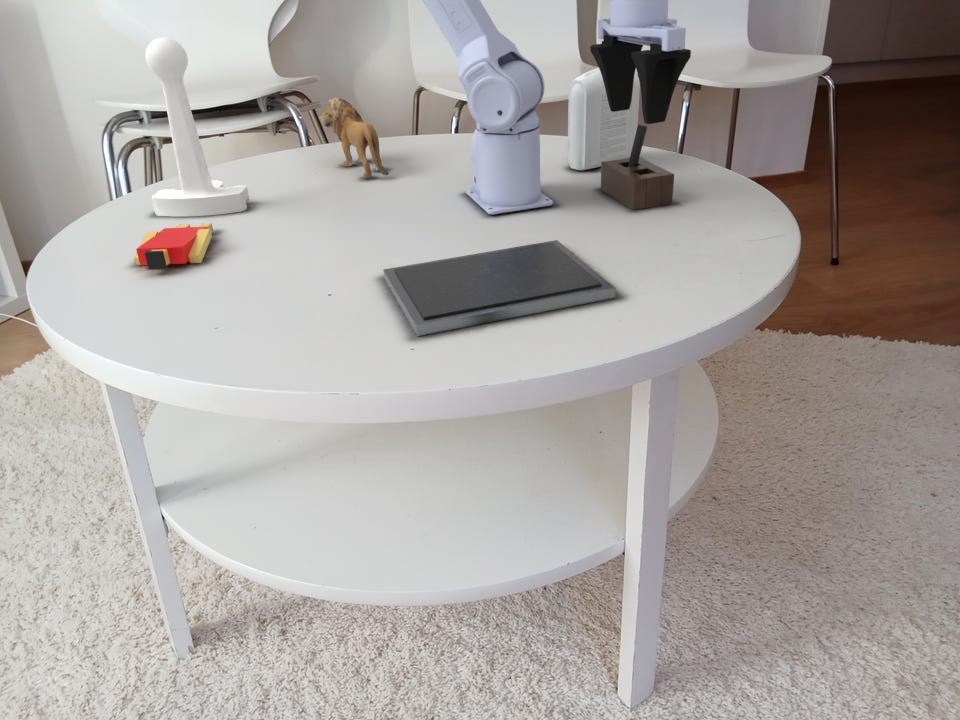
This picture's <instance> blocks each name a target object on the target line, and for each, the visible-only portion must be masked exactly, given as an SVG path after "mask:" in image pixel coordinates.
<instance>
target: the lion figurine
mask: <svg viewBox="0 0 960 720" xmlns="http://www.w3.org/2000/svg"><path fill="white" fill-rule="evenodd" d="M318 119H319V121H320V122H321V123H322V124H323V127H324V128H325V129H329V128H332V132H333V133H334V135H336V136H337V138H338V140H339V141H340V142H341V148H342V151H343V153H344V157H345V161H343V162H342V166H343V167H352V166H353V164H354V160H353V156H352V153H351V146H353V147H354V148H355V149H356V153H357V160H358V162H359V163H361V164H362V166H363V168H364V171H365V173H363V176H362V177H363V179H366V180H368V179H372V177H373V173H372V168H371V165H370V162H369V160H368V159H367V154H366V152H367V151H366V150H367V148H368V149H369V153H370V156H371V158H372V161H373V163H374V165H375V170H376V172H377V171H378V172H380V173H381V174H382V176H390V172H389V171H388V170H386V169H385V167H384V165H383V162H382V158H381V153H380V140H379V136H378V133H377V131H376V129H375V127H374V126H373V124H372V123H369V122H364V121H363V119H362V116H361V115H360V113H359V112H358V110H357V108H355V107H354V106H353V104H351V103H350V102H349V101H347V100H345V99H343V98H341V97H333V98H331V99H328V106H327V107H326V108H325V110H324V112H323V113H322V114H320V115H319V116H318Z"/></svg>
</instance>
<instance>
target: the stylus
mask: <svg viewBox="0 0 960 720" xmlns="http://www.w3.org/2000/svg"><path fill="white" fill-rule="evenodd" d="M647 129H648V126H647V125H645V124H639V123H638V126H637V130H636V134H635V138H634V142H633V147H632V151H631V155H630V159H629V163H628V167H632V166H637V165H638V161H639V157H640V156H641V153H642V148H643V145H644V141H645V137H646V133H647ZM640 158H641V157H640Z"/></svg>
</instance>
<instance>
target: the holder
mask: <svg viewBox="0 0 960 720" xmlns="http://www.w3.org/2000/svg"><path fill="white" fill-rule="evenodd" d="M629 159H630V158H628V159H627V158H626V159H619V160H613V161H605V162H601V166H600V192H601V191H602V192H603V193H605V194H606V195H608V196H610V197H611V198H612V199H615V200H616V201H619V202H620V204H623V205H624V206H626V207H628V208H629V209H630V210H633V211H636V210H641V209H648V208H654V207H661V206H667V205H672V204H673V197H674V186H675V185H674V183H675V173H673V172H671V171H669V170H666V169H665V168H662V167H661V166H658V165H656V164H655V163H652V162H650V161H647V159H644V158H642V157H639V161H638V165H637V166H632V167H628V163H629Z"/></svg>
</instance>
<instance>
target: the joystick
mask: <svg viewBox="0 0 960 720" xmlns="http://www.w3.org/2000/svg"><path fill="white" fill-rule="evenodd" d="M144 56H145V62H146V65H147V67H148V68H149V71H151V72H152V74H154V75H155V76H156V77H157V78H158V80H159V82H160V85H161V87H162V92H163V98H164V102H165V108H166V113H167V118H168V125H169V129H170V136H171V140H172V145H173V146H172V147H173V151H174V156H175V157H174V158H175V162H176V168H177V173H178V178H179V183H180V189H171V188H162V189H159V190H158V191H156V193H154V194H153V195H152V196H151V197H150V198H151V202H152V205H153V210H154V212H155V215H156V216H158V217H184V218H185V217H204V216H205V217H207V216H217V215H226V214H232V213H240V212H244V211H246V210H247V209H248V207H247V206H248V205H247V202H250V200H251V198H250V195H249V190H248V185H247V184H240V185H239V184H238V185H233V186H227V187H225V186H224V182H223V181H222V180H217V179H211V176H210V175H211V174H210V171H209V168H208V165H207V161H206V157H205V154H204V150H203V147H202V144H201V140H200V136H199V133H198V130H197V126H196V122H195V119H194V116H193V112H192V109H191V105H190V101H189V98H188V96H187V95H188V94H187V90H186V87H185V84H184V75H185V72H186V70H187V68H188V63H189V59H188V54H187V52H186V50H185V48H184V47H183V46H182V44H181V43H180V42H179V41H177V40H176V39H173V38H172V37H171V38H170V37H167V36H163V37H162V36H161V37H157V38H155V39H153V40H151V41H150V42H149V44H148V45H147V47H146V50H145V54H144Z"/></svg>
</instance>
